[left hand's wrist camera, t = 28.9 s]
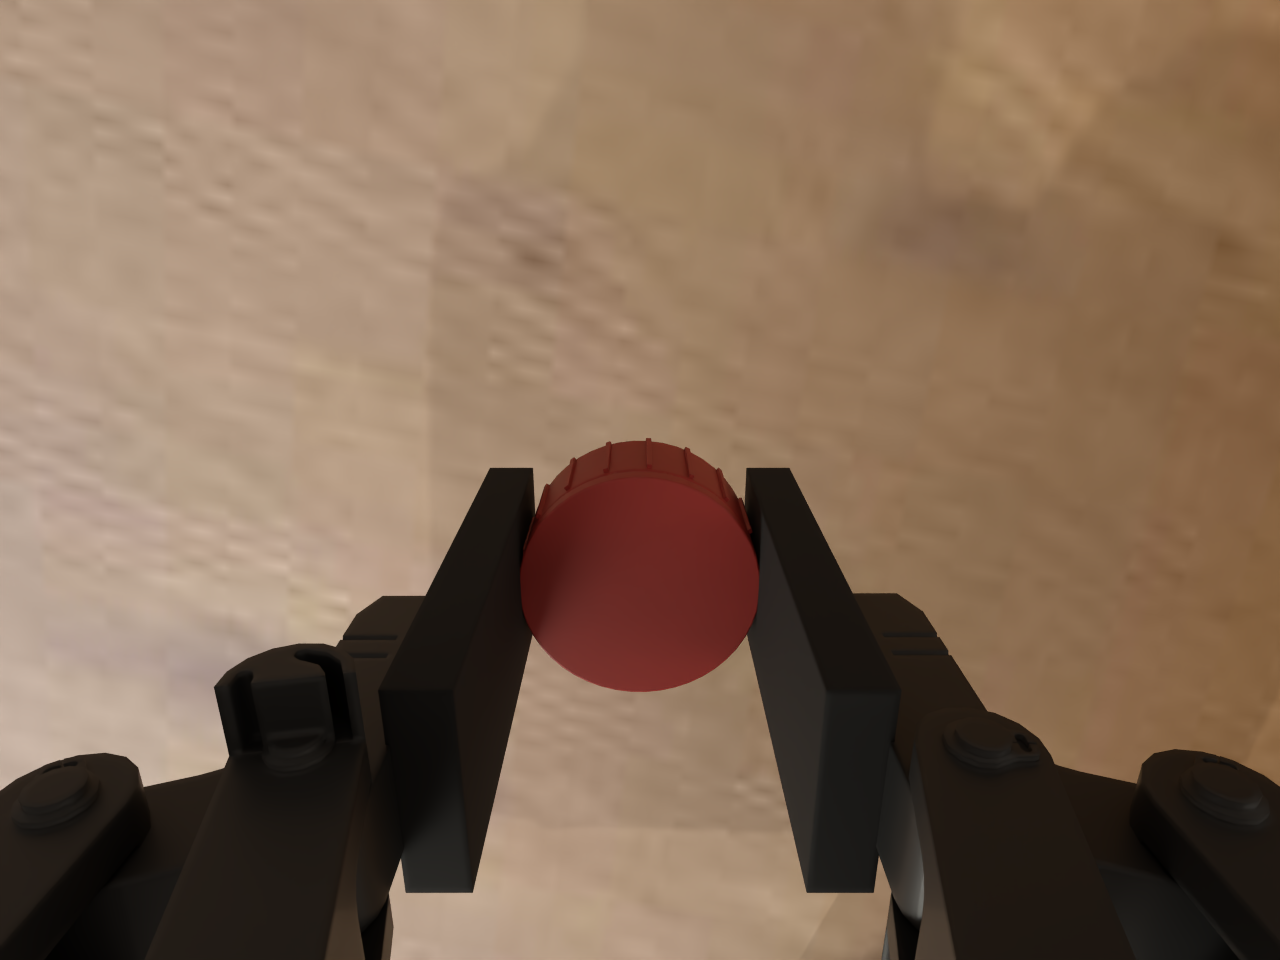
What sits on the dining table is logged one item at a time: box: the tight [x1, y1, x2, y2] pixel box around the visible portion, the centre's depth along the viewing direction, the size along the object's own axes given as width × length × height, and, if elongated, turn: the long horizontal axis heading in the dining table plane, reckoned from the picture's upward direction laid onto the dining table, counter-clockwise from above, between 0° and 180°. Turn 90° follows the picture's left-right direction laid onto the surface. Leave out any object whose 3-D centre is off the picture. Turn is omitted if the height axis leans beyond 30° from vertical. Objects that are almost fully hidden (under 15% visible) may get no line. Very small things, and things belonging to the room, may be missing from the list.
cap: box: [520, 438, 760, 692], centre depth 14 cm, size 4×4×2 cm
